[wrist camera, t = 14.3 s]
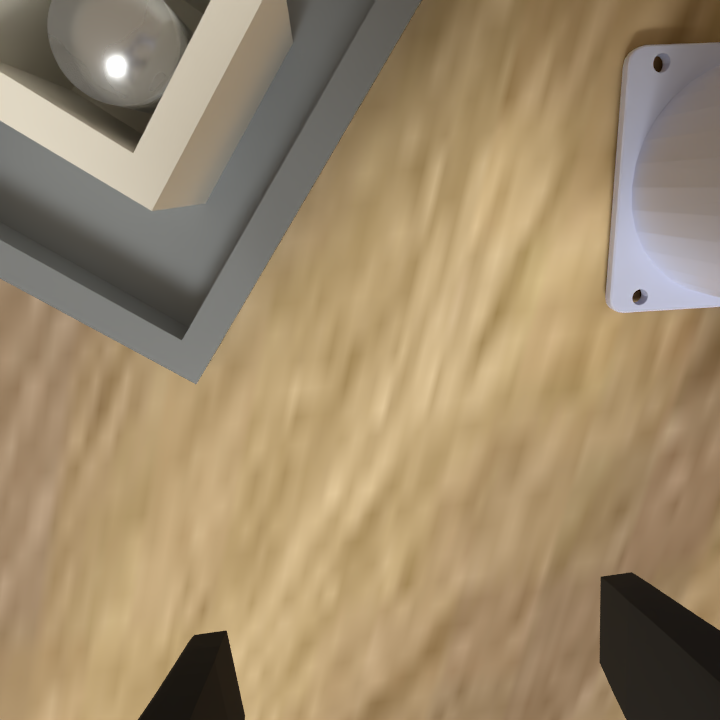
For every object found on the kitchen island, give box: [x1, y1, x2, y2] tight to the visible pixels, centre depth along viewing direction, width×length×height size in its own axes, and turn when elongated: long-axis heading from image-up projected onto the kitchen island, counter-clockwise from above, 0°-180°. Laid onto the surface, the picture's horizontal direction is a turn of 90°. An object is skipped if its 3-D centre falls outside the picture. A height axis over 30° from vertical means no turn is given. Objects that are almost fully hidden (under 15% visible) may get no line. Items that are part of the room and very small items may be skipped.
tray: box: [0, 0, 422, 384], centre depth 16 cm, size 14×10×2 cm
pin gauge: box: [47, 0, 194, 114], centre depth 14 cm, size 2×2×5 cm
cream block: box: [0, 0, 293, 211], centre depth 14 cm, size 5×5×6 cm
